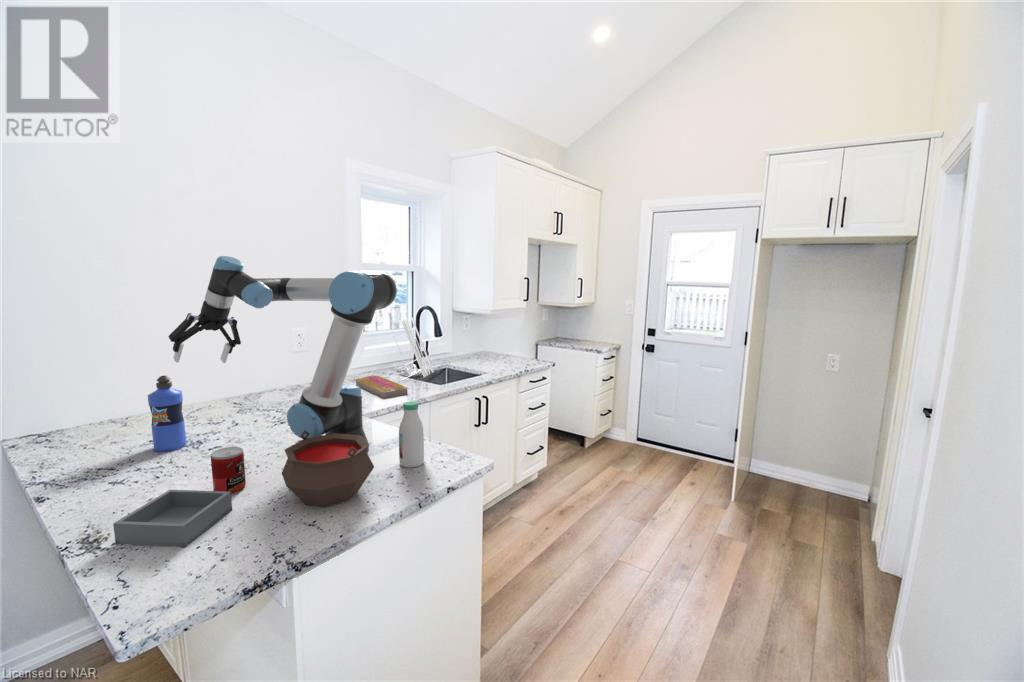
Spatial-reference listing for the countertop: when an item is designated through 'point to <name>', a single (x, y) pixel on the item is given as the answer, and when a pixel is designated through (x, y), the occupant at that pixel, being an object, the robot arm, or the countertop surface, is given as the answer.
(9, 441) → the countertop surface
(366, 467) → the brown cooking pot
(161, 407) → the water bottle
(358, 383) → the orange triangular wedge
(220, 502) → the bin
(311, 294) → the robot arm
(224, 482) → the canned food
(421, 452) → the milk bottle
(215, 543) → the countertop surface
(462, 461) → the countertop surface
